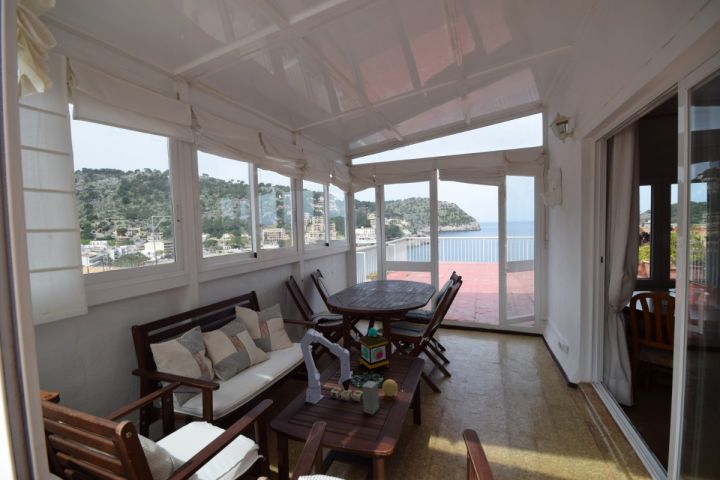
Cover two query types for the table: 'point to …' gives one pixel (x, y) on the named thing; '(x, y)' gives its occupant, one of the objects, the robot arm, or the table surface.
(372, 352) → the decorative lantern
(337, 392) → the marked block
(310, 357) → the robot arm
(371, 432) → the table surface
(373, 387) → the skincare box
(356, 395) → the marked block
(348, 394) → the plain block
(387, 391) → the stress ball
